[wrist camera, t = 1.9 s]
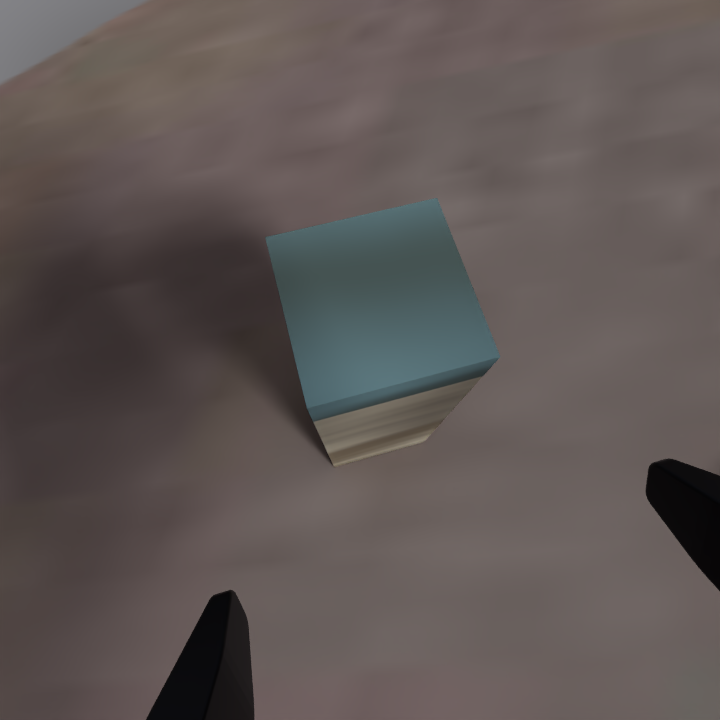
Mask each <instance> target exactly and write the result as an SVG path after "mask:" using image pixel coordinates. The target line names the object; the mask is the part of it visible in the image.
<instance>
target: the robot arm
mask: <svg viewBox="0 0 720 720" xmlns="http://www.w3.org/2000/svg"><path fill="white" fill-rule="evenodd" d="M646 496H647V499H648V501H649V502H650V504H651V505H652V507H653V508H654V509H655V511H656V512H657V513H658V515H659V516H660V517H661V519H662V520H663V521H664V523H665V524H666V525H667V527H668V528H669V529H670V531H671V532H672V533H673V535H674V536H675V537H676V539H677V540H678V541H679V543H680V544H681V545H682V547H683V548H684V549H685V551H686V552H687V553H688V555H689V556H690V557H691V558H692V560H693V561H694V562H695V563H696V565H697V566H698V567H699V568H700V569H701V571H702V572H703V573H704V574H705V575H706V576H707V578H708V579H709V580H710V581H711V582H712V583H713V584H714V585H715V586H716V588H717V589H718V590H719V591H720V476H719V475H716V474H714V473H711V472H708V471H705V470H702V469H699V468H697V467H694V466H691V465H688V464H685V463H683V462H680V461H677V460H674V459H664V460H660V461H657V462H654V463H652V464H651V465H650V466H649V469H648V476H647V484H646ZM146 720H254V697H253V683H252V669H251V655H250V641H249V627H248V621H247V617H246V614H245V612H244V610H243V608H242V605H241V603H240V601H239V599H238V597H237V595H236V593H235V592H234V591H233V590H228V591H225V592H222V593H218V594H215V595H213V596H212V597H211V598H210V600H209V602H208V604H207V606H206V607H205V609H204V611H203V613H202V615H201V617H200V619H199V621H198V622H197V624H196V626H195V628H194V630H193V632H192V634H191V636H190V638H189V639H188V641H187V643H186V645H185V647H184V649H183V651H182V653H181V655H180V656H179V658H178V660H177V662H176V664H175V666H174V668H173V670H172V671H171V673H170V675H169V677H168V679H167V681H166V683H165V685H164V687H163V688H162V690H161V692H160V694H159V696H158V698H157V700H156V702H155V703H154V705H153V707H152V709H151V711H150V713H149V715H148V717H147V719H146Z"/></svg>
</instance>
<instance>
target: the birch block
mask: <svg viewBox="0 0 720 720" xmlns="http://www.w3.org/2000/svg"><path fill="white" fill-rule="evenodd" d="M265 238H266V242H267V246H268V251H269V255H270V259H271V263H272V267H273V271H274V275H275V279H276V283H277V287H278V292H279V296H280V300H281V304H282V308H283V312H284V316H285V320H286V324H287V329H288V333H289V337H290V341H291V345H292V349H293V353H294V357H295V361H296V365H297V370H298V374H299V378H300V382H301V386H302V390H303V394H304V398H305V402H306V407H307V410H308V412H309V414H310V416H311V418H312V420H313V422H314V425H315V427H316V429H317V431H318V433H319V435H320V438H321V440H322V442H323V444H324V446H325V448H326V450H327V453H328V455H329V457H330V459H331V461H332V463H333V466H334V467H337V466H340V465H344V464H348V463H351V462H355V461H358V460H362V459H365V458H369V457H372V456H376V455H380V454H383V453H387V452H390V451H394V450H397V449H401V448H405V447H408V446H412V445H415V444H419V443H422V442H424V441H425V440H426V439H427V438H428V437H429V436H430V435H431V434H432V432H433V431H434V430H435V429H436V428H437V427H438V426H439V425H440V424H441V422H442V421H443V420H444V419H445V418H446V417H447V416H448V415H449V413H450V412H451V411H452V410H453V409H454V408H455V407H456V406H457V405H458V403H459V402H460V401H461V400H462V399H463V398H464V397H465V396H466V394H467V393H468V392H469V391H470V390H471V389H472V388H473V387H474V386H475V384H476V383H477V382H478V381H479V380H480V379H481V378H482V377H483V375H484V374H485V373H486V372H487V371H488V370H489V369H490V368H491V367H492V365H493V364H494V363H495V362H496V361H497V360H498V359H499V358H500V355H499V352H498V350H497V347H496V345H495V342H494V340H493V337H492V335H491V332H490V330H489V327H488V325H487V322H486V320H485V317H484V315H483V312H482V310H481V307H480V305H479V302H478V300H477V297H476V295H475V292H474V290H473V287H472V285H471V282H470V280H469V277H468V275H467V272H466V270H465V267H464V265H463V262H462V260H461V257H460V255H459V252H458V250H457V247H456V245H455V242H454V240H453V237H452V235H451V232H450V230H449V227H448V225H447V222H446V220H445V217H444V214H443V212H442V209H441V207H440V204H439V202H438V199H437V198H435V199H430V200H426V201H421V202H417V203H413V204H408V205H404V206H400V207H395V208H391V209H387V210H382V211H378V212H373V213H369V214H365V215H360V216H356V217H352V218H347V219H343V220H339V221H334V222H330V223H326V224H321V225H317V226H312V227H308V228H304V229H299V230H295V231H291V232H286V233H282V234H278V235H273V236H269V237H265Z"/></svg>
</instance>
